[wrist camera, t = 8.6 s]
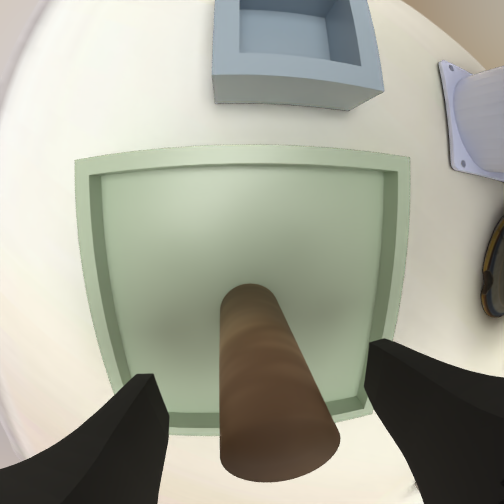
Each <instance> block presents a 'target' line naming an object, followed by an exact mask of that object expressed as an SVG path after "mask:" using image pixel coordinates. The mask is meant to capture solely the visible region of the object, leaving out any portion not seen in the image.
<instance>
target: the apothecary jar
mask: <svg viewBox="0 0 504 504" xmlns="http://www.w3.org/2000/svg"><path fill="white" fill-rule="evenodd" d="M483 277H484V287H483V289H482V292H481V300H482V305H483V309H484V311H485V312H486V313H487V314H488V315H489V316H491V317H500V316H502V315H504V216H503V217H502V219H501V220H500V221H499V223H498V225H497V226H496V228H495V230H494V232H493V235H492V237H491V240H490V242H489V245H488V249H487V252H486V256H485V260H484V265H483Z"/></svg>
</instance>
